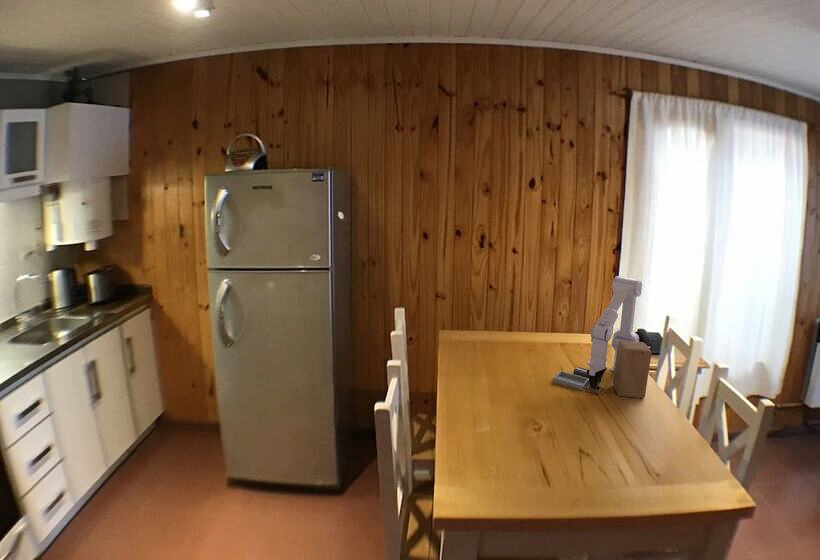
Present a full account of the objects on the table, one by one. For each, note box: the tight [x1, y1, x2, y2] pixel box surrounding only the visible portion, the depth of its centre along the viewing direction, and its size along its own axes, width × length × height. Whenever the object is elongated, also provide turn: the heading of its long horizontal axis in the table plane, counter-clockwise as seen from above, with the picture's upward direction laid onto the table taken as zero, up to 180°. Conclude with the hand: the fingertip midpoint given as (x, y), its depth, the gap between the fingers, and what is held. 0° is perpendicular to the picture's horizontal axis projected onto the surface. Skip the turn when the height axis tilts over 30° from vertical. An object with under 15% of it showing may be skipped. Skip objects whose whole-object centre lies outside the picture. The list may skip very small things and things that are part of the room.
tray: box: [552, 370, 590, 392], centre depth 185 cm, size 12×8×2 cm
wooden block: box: [612, 341, 652, 399], centre depth 176 cm, size 10×10×20 cm
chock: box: [572, 366, 590, 384], centre depth 189 cm, size 9×4×4 cm, turn 45°
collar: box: [585, 383, 604, 395], centre depth 180 cm, size 5×5×2 cm
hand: (594, 385), depth 179 cm, fingers open, 4 cm apart
